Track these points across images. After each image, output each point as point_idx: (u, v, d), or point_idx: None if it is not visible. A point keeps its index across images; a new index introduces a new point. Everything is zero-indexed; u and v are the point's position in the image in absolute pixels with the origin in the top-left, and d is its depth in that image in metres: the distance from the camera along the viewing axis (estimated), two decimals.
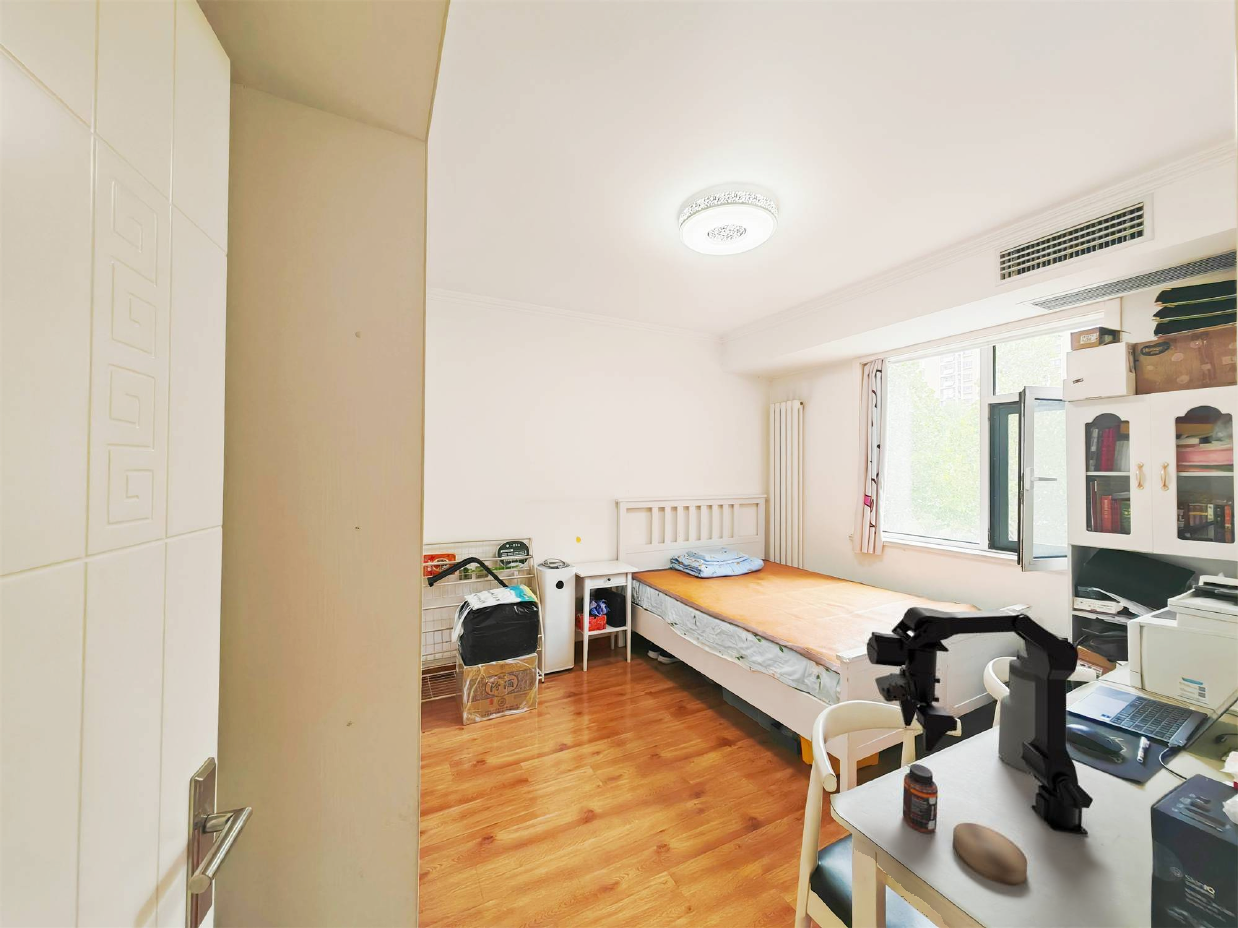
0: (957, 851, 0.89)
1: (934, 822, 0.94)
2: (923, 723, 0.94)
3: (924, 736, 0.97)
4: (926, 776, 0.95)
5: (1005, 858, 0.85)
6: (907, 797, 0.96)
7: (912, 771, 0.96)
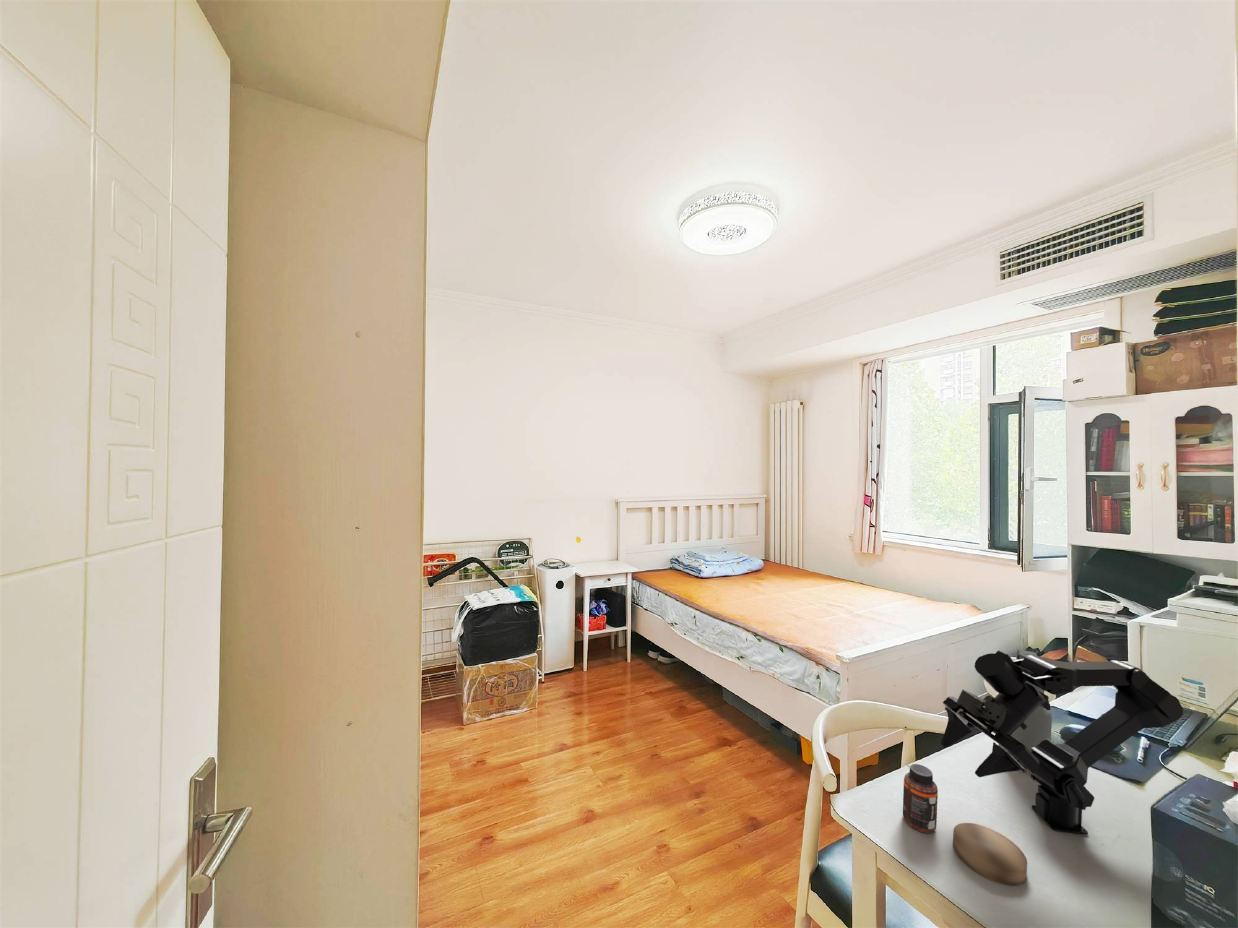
0: (957, 851, 0.89)
1: (934, 822, 0.94)
2: (1012, 749, 0.88)
3: (988, 761, 0.91)
4: (926, 776, 0.95)
5: (1005, 858, 0.85)
6: (907, 797, 0.96)
7: (912, 771, 0.96)
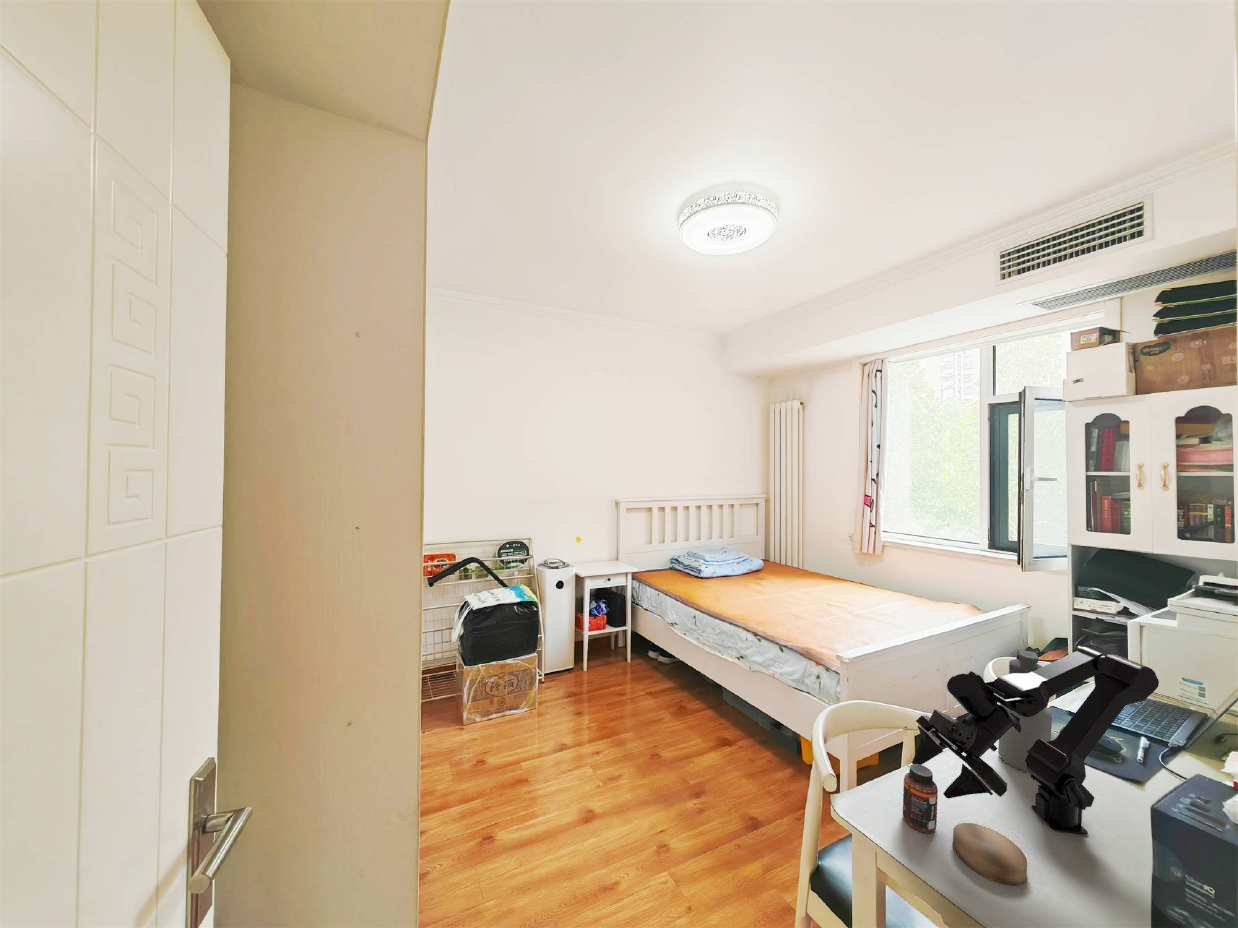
0: (957, 851, 0.89)
1: (934, 822, 0.94)
2: (980, 772, 0.88)
3: (956, 783, 0.91)
4: (926, 776, 0.95)
5: (1005, 858, 0.85)
6: (907, 797, 0.96)
7: (912, 771, 0.96)
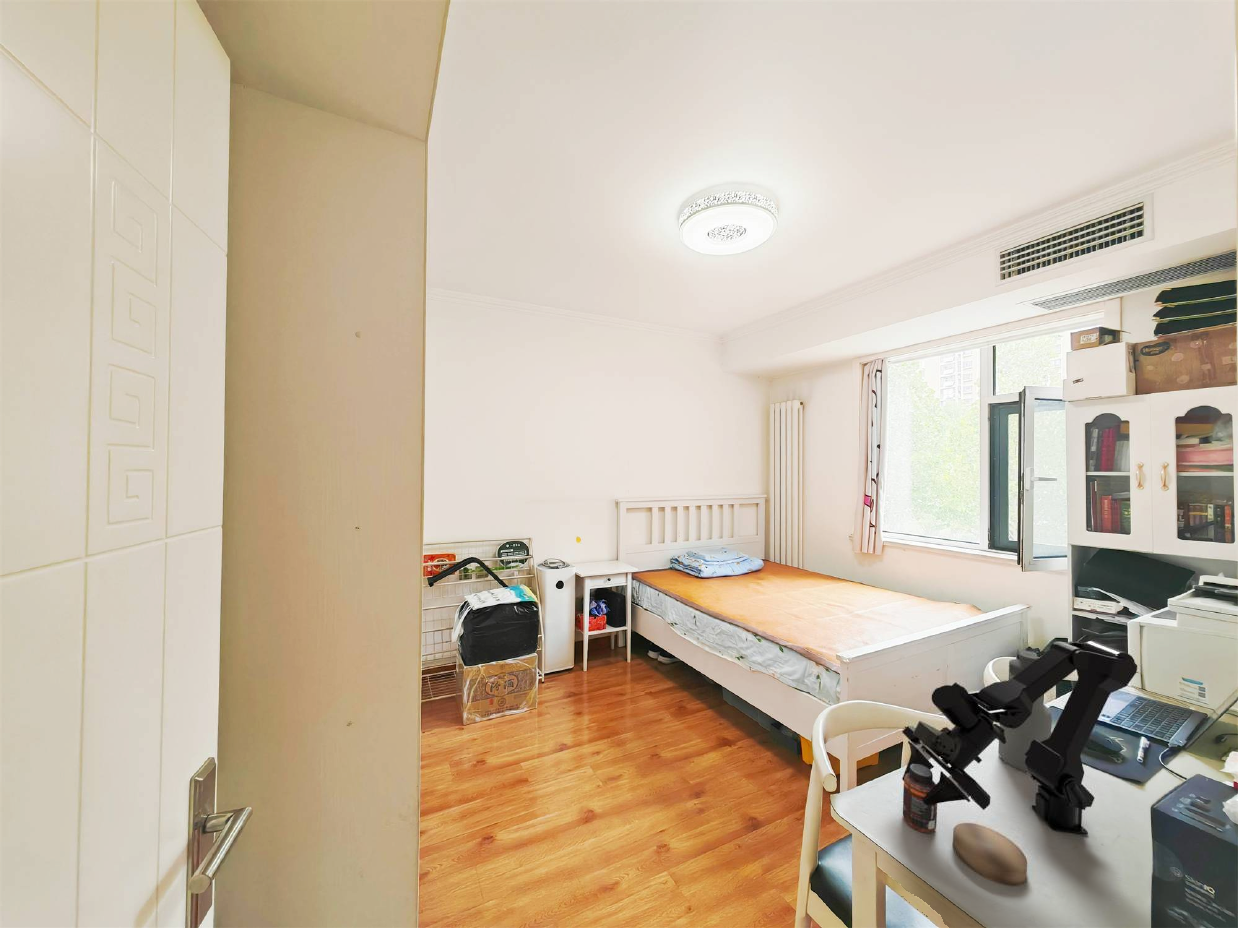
0: (957, 851, 0.89)
1: (934, 822, 0.94)
2: (963, 785, 0.88)
3: (935, 790, 0.93)
4: (926, 776, 0.95)
5: (1005, 858, 0.85)
6: (907, 797, 0.96)
7: (912, 771, 0.96)
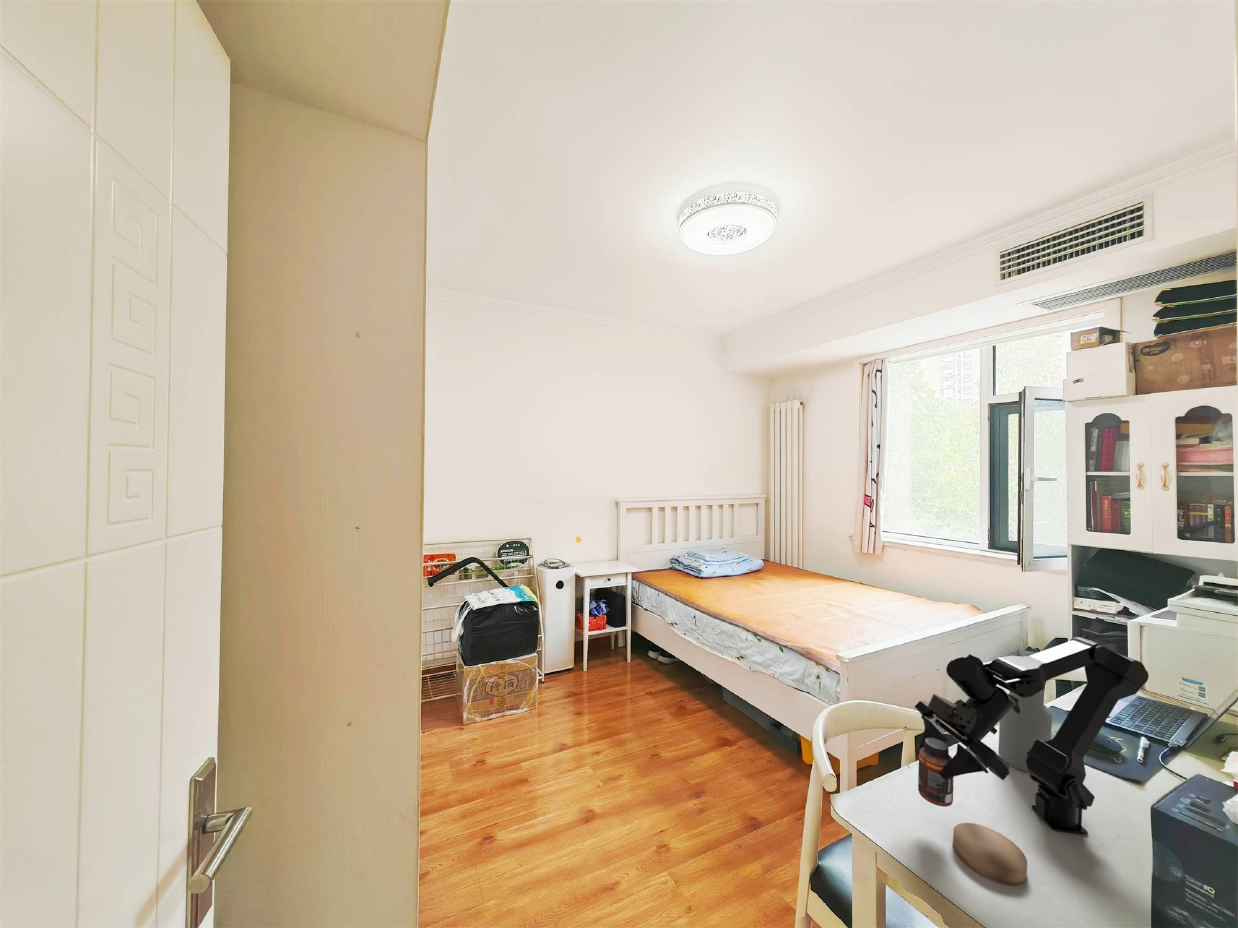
0: (957, 851, 0.89)
1: (951, 795, 0.92)
2: (982, 755, 0.86)
3: (952, 762, 0.91)
4: (943, 749, 0.93)
5: (1005, 858, 0.85)
6: (923, 771, 0.94)
7: (928, 745, 0.95)
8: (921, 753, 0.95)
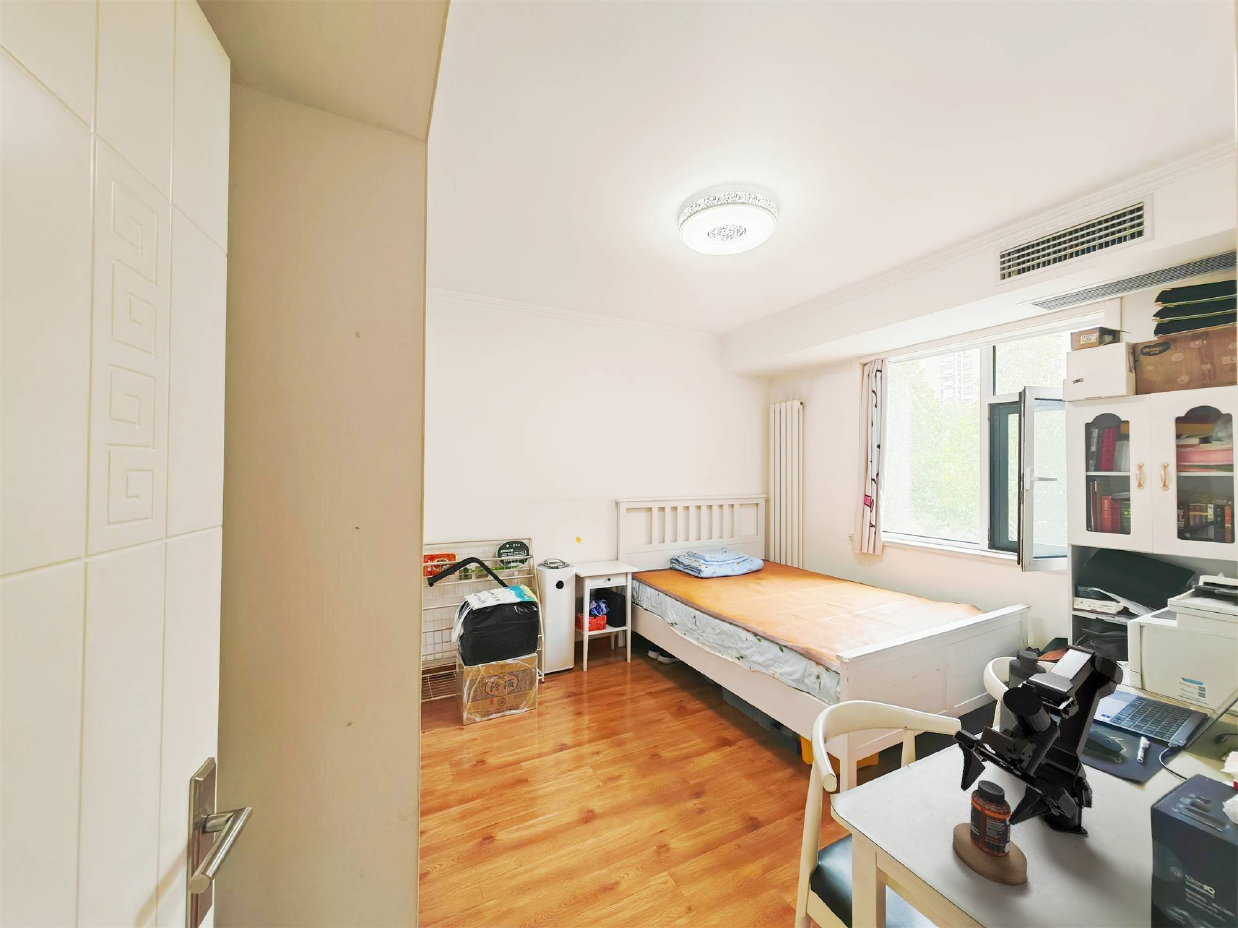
0: (957, 851, 0.89)
1: (1009, 843, 0.86)
2: (1053, 794, 0.80)
3: (1022, 807, 0.83)
4: (1001, 794, 0.86)
5: (1005, 858, 0.85)
6: (981, 820, 0.87)
7: (984, 790, 0.88)
8: (976, 799, 0.88)
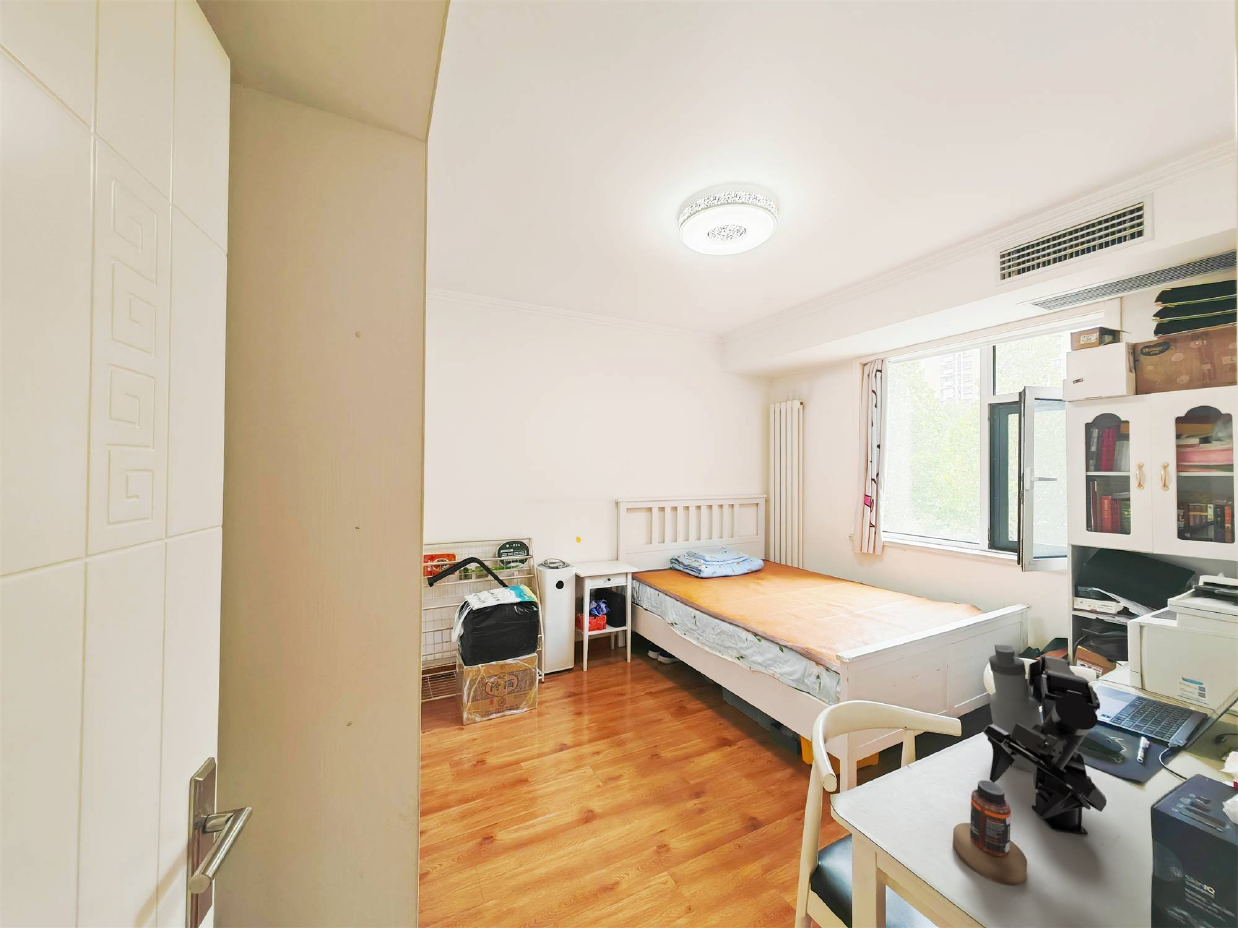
0: (957, 851, 0.89)
1: (1009, 843, 0.86)
2: (1083, 790, 0.83)
3: (1053, 801, 0.86)
4: (1001, 794, 0.86)
5: (1005, 858, 0.85)
6: (981, 820, 0.87)
7: (984, 790, 0.88)
8: (976, 799, 0.88)
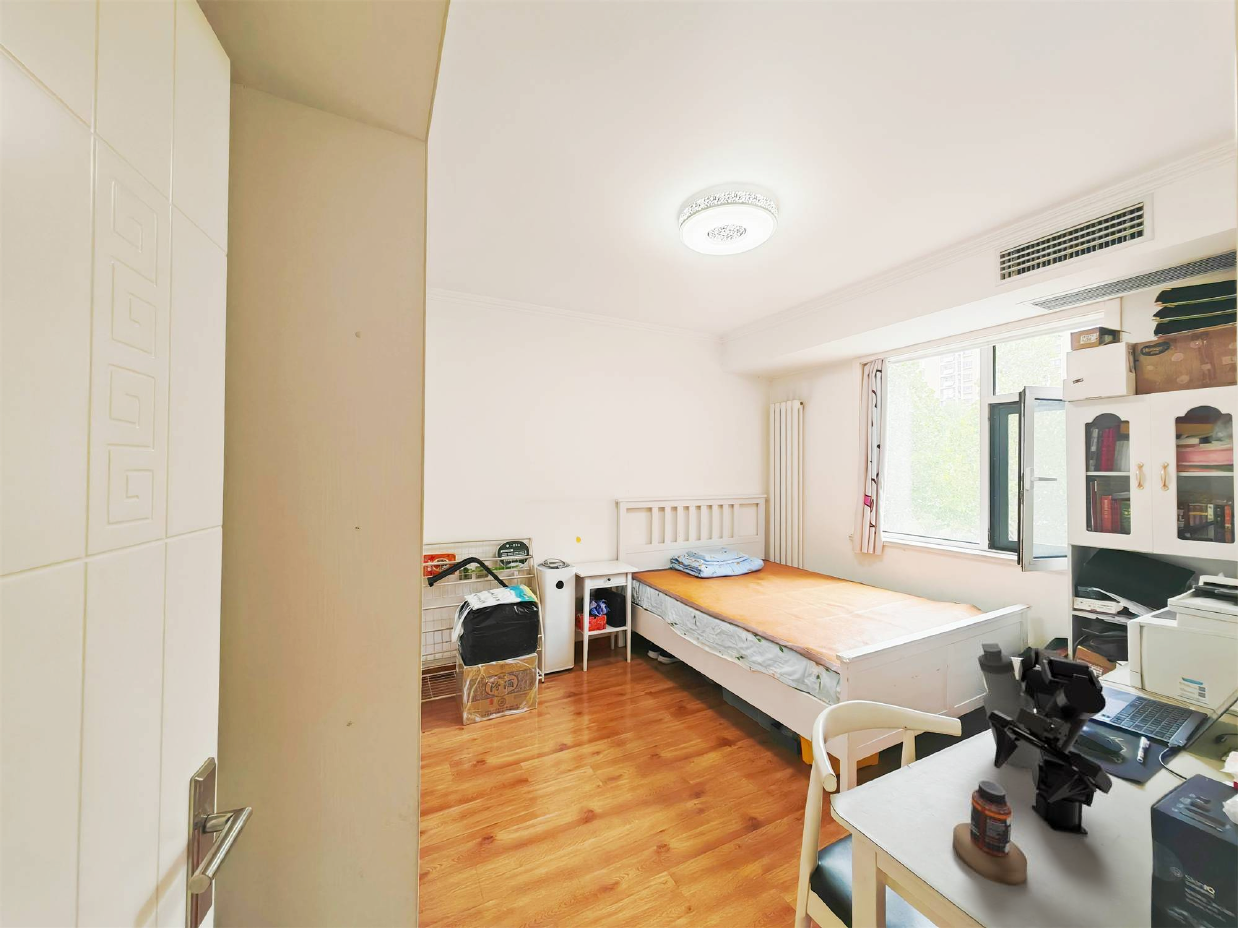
0: (957, 851, 0.89)
1: (1009, 843, 0.86)
2: (1090, 772, 0.83)
3: (1060, 785, 0.85)
4: (1002, 794, 0.86)
5: (1005, 858, 0.85)
6: (981, 820, 0.87)
7: (985, 790, 0.87)
8: (977, 799, 0.88)
